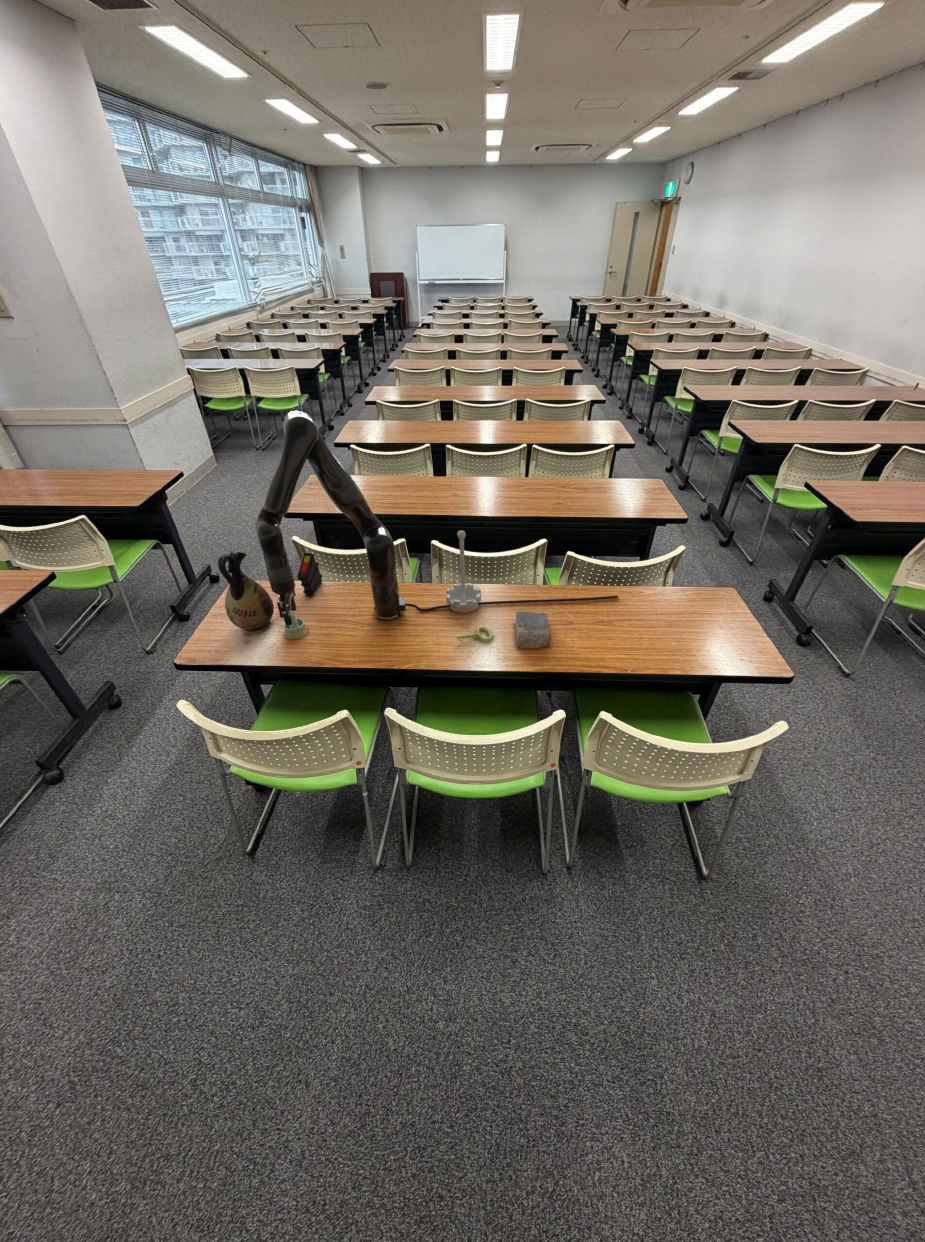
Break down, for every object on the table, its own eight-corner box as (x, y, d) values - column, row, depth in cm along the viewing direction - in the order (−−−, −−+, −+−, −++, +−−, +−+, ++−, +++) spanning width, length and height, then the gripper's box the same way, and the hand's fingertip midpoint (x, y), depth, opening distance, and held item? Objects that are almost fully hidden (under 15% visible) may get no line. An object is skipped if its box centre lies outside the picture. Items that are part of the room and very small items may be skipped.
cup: (307, 626, 182) (305, 617, 180) (304, 638, 177) (302, 628, 174) (288, 628, 182) (285, 618, 179) (284, 640, 176) (281, 630, 174)
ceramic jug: (248, 612, 191) (223, 539, 174) (285, 615, 188) (265, 542, 171) (221, 639, 177) (192, 563, 160) (262, 644, 175) (237, 567, 157)
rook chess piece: (305, 630, 180) (300, 611, 175) (297, 637, 177) (291, 618, 172) (295, 627, 181) (290, 609, 177) (286, 634, 178) (281, 615, 174)
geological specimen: (547, 610, 178) (551, 635, 165) (545, 625, 181) (549, 650, 168) (516, 609, 178) (518, 634, 165) (515, 624, 181) (516, 649, 169)
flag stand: (481, 614, 186) (480, 539, 168) (445, 614, 186) (441, 539, 168) (480, 594, 196) (480, 522, 179) (447, 595, 197) (443, 523, 179)
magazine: (325, 574, 209) (313, 552, 196) (317, 602, 202) (304, 581, 189) (316, 574, 209) (303, 552, 196) (308, 601, 203) (294, 581, 190)
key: (455, 641, 173) (455, 636, 172) (484, 628, 179) (484, 623, 177) (468, 651, 168) (467, 646, 167) (497, 638, 174) (497, 633, 173)
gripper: (288, 587, 160) (299, 628, 170) (296, 564, 172) (305, 605, 181) (264, 588, 160) (276, 630, 169) (273, 566, 171) (284, 606, 181)
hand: (291, 617), depth 175 cm, fingers open, 8 cm apart
